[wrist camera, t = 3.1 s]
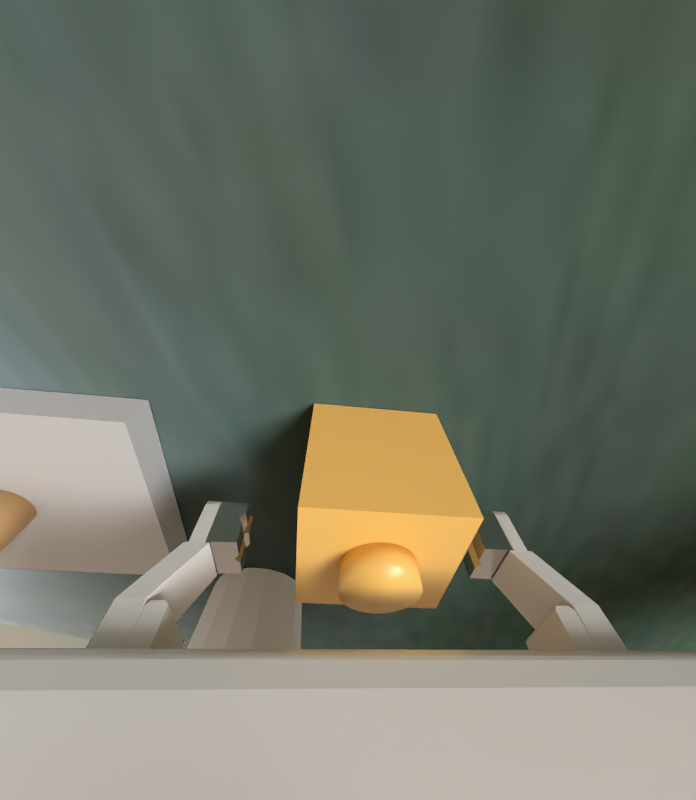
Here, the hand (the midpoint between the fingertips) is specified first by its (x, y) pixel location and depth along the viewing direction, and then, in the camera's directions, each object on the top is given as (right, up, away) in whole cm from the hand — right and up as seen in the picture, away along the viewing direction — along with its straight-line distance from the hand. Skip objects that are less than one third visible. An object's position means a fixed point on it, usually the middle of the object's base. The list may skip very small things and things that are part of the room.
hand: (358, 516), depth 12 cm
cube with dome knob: (0, +2, +2) cm, 3 cm away
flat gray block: (-15, +1, +3) cm, 15 cm away
